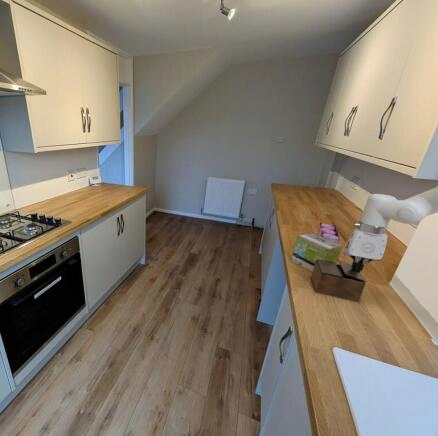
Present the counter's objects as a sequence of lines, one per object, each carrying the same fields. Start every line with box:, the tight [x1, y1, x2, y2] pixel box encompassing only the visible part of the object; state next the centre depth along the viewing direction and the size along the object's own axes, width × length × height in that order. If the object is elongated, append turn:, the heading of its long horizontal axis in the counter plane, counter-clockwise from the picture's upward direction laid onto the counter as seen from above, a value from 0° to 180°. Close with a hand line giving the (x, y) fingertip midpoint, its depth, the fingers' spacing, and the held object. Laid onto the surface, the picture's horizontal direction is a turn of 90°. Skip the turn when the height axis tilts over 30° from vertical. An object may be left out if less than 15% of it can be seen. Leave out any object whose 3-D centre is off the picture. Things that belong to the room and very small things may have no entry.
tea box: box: [291, 232, 343, 273], centre depth 113 cm, size 15×10×15 cm, turn 21°
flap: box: [337, 258, 367, 283], centre depth 94 cm, size 7×12×1 cm, turn 155°
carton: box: [310, 259, 367, 303], centre depth 97 cm, size 14×12×10 cm
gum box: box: [316, 222, 341, 245], centre depth 127 cm, size 24×8×14 cm, turn 147°
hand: (355, 270), depth 93 cm, fingers closed
